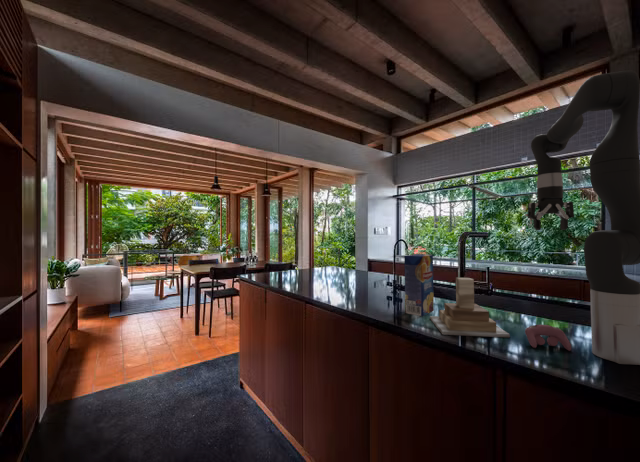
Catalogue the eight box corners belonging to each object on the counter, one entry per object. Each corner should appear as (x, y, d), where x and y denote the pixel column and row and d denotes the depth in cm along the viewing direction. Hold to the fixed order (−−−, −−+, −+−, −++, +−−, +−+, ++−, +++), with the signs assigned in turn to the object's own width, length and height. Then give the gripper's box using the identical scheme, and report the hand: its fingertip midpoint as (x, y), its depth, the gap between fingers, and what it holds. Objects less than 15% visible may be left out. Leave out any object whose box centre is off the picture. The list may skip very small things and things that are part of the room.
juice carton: (422, 316, 113) (421, 256, 113) (404, 313, 118) (404, 255, 119) (433, 310, 122) (433, 254, 122) (417, 307, 127) (416, 254, 127)
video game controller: (565, 352, 81) (558, 327, 84) (574, 350, 77) (567, 324, 80) (526, 349, 84) (521, 324, 87) (533, 347, 80) (527, 321, 83)
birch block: (474, 308, 97) (473, 279, 97) (460, 308, 98) (459, 279, 98) (469, 305, 101) (469, 277, 102) (456, 305, 102) (455, 277, 102)
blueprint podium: (509, 337, 89) (509, 315, 89) (442, 334, 92) (442, 312, 92) (485, 320, 107) (485, 302, 107) (429, 318, 110) (429, 300, 110)
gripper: (534, 185, 103) (535, 229, 103) (578, 184, 101) (579, 229, 101) (523, 189, 111) (524, 230, 110) (564, 187, 109) (565, 230, 108)
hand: (550, 229), depth 106 cm, fingers open, 8 cm apart
